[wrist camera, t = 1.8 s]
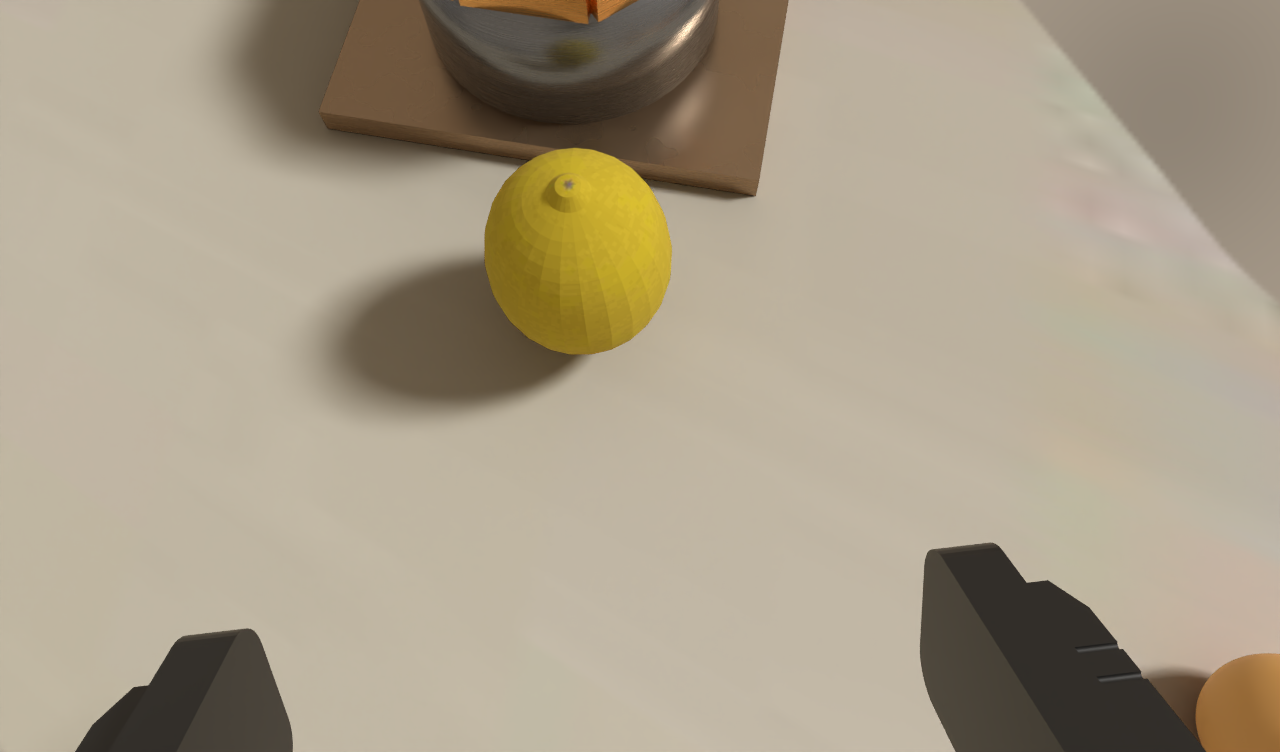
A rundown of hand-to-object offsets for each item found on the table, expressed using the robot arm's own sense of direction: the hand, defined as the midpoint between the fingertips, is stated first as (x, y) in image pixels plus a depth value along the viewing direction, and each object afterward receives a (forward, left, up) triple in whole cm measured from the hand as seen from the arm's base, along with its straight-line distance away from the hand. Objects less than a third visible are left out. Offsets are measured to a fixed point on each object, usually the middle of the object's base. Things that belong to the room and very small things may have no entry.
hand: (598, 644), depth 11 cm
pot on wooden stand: (-7, +23, -16) cm, 29 cm away
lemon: (-4, +11, -16) cm, 20 cm away
